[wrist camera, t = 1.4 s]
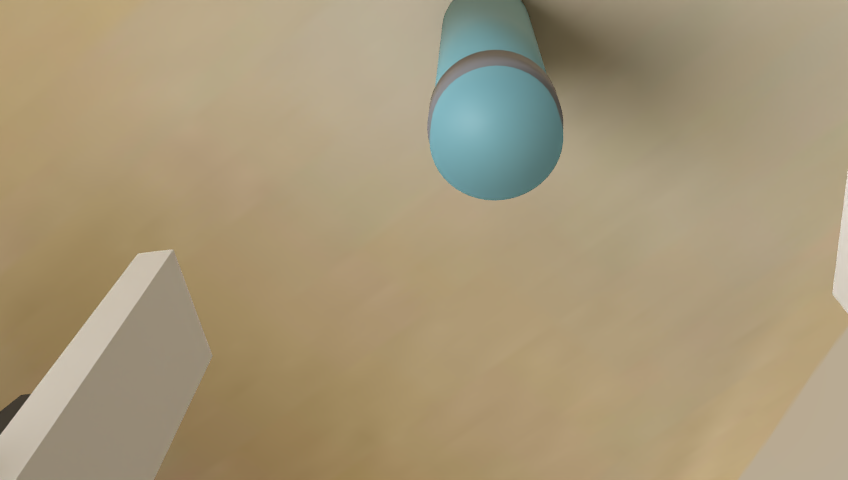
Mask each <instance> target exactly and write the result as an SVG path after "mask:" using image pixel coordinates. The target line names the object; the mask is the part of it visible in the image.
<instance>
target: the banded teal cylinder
mask: <svg viewBox="0 0 848 480" xmlns="http://www.w3.org/2000/svg"><path fill="white" fill-rule="evenodd" d="M428 138H429V143H430V150H431V154H432V158H433V160H434V163H435V165H436V167H437V169H438V170H439V172H440V173H441V175H442V176H443V177H444V178H445V179H446V181H447V182H448V183H449V184H451V185H452V186H453V187H455V188H456V189H457V190H459V191H461V192H462V193H465V194H467V195H469V196H472V197H475V198H479V199H484V200H505V199H510V198H514V197H517V196H520V195H523V194H525V193H527V192H529V191H531V190H532V189H534V188H535V187H537V186H538V185H539V184H541V183H542V182H543V181H544V180H545V179H546V178H547V177H548V176H549V174H550V173H551V172H552V170H553V169H554V167H555V165H556V164H557V161H558V159H559V157H560V154H561V150H562V145H563V115H562V110H561V106H560V103H559V100H558V97H557V94H556V91H555V88H554V86H553V84H552V82H551V80H550V78H549V77H548V75H547V74H546V70H545V67H544V64H543V61H542V57H541V54H540V51H539V48H538V44H537V41H536V38H535V35H534V31H533V28H532V25H531V22H530V18H529V15H528V12H527V10H526V7H525V6H524V4H523V2H522V1H521V0H453V1H452V2H451V4H450V5H449V7H448V9H447V11H446V13H445V16H444V19H443V25H442V34H441V42H440V51H439V60H438V68H437V77H436V86H435V89H434V91H433V94H432V97H431V102H430V108H429V116H428Z"/></svg>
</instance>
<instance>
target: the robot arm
mask: <svg viewBox="0 0 848 480" xmlns="http://www.w3.org/2000/svg"><path fill="white" fill-rule="evenodd" d="M832 294H833V295H834V297H835V298H836V299H837V301H838V302H839V303H840V304H841V306H842V307H843V308H844V310H845V311H846V312H847V313H848V173H847V181H846V189H845V197H844V205H843V213H842V221H841V229H840V237H839V245H838V253H837V260H836V268H835V276H834V284H833V292H832ZM211 358H212V353H211V351H210V348H209V345H208V343H207V340H206V337H205V334H204V332H203V329H202V326H201V324H200V321H199V318H198V315H197V313H196V310H195V307H194V304H193V302H192V299H191V296H190V294H189V291H188V288H187V285H186V283H185V280H184V277H183V275H182V272H181V269H180V266H179V264H178V261H177V258H176V256H175V253H174V250H173V249H172V250H164V251H155V252H147V253H138V254H137V256H136V257H135V258H134V259H133V261H132V262H131V263H130V265H129V266H128V267H127V269H126V270H125V271H124V273H123V274H122V275H121V277H120V278H119V279H118V281H117V282H116V283H115V284H114V286H113V287H112V288H111V290H110V291H109V292H108V294H107V295H106V296H105V298H104V299H103V300H102V302H101V303H100V304H99V306H98V307H97V308H96V309H95V311H94V312H93V313H92V315H91V316H90V317H89V319H88V320H87V321H86V323H85V324H84V325H83V327H82V328H81V329H80V331H79V332H78V333H77V334H76V336H75V337H74V338H73V340H72V341H71V342H70V344H69V345H68V346H67V348H66V349H65V350H64V352H63V353H62V354H61V356H60V357H59V358H58V359H57V361H56V362H55V363H54V365H53V366H52V367H51V369H50V370H49V371H48V373H47V374H46V375H45V377H44V378H43V379H42V381H41V382H40V383H39V384H38V386H37V387H36V388H35V390H34V391H33V392H32V394H26V395H21V396H19V397H18V398H17V399H16V400H14V401H13V402H12V403H10V404H9V405H8V406H7V407H5V408H4V409H3V410H2V411H0V480H154V478H155V476H156V474H157V472H158V470H159V468H160V465H161V463H162V461H163V459H164V457H165V455H166V453H167V451H168V449H169V446H170V444H171V442H172V440H173V438H174V436H175V434H176V432H177V430H178V427H179V425H180V423H181V421H182V419H183V417H184V415H185V413H186V411H187V408H188V406H189V404H190V402H191V400H192V398H193V396H194V394H195V392H196V389H197V387H198V385H199V383H200V381H201V379H202V377H203V375H204V373H205V370H206V368H207V366H208V364H209V362H210V360H211Z"/></svg>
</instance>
